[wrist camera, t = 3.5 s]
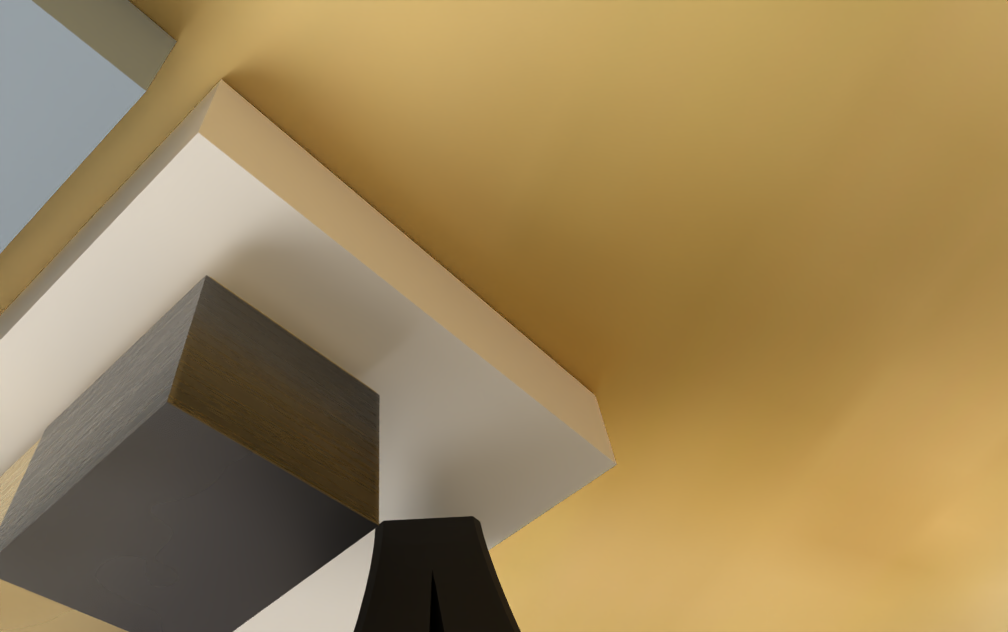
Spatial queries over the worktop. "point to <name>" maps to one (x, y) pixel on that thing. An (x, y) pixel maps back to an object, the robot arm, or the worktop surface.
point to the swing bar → (190, 480)
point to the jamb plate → (309, 335)
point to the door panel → (65, 91)
